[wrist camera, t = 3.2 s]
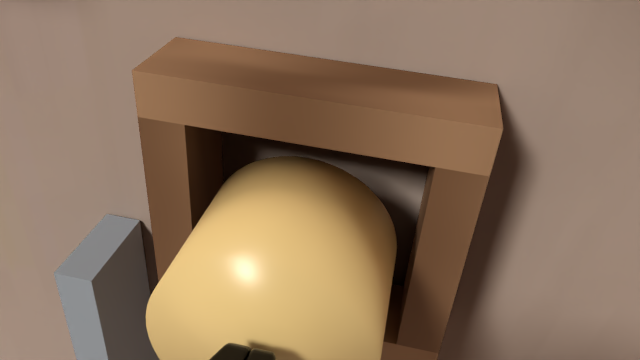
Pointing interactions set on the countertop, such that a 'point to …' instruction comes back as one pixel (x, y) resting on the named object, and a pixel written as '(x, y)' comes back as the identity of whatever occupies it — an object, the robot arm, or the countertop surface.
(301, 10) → the countertop surface
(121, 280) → the pocket
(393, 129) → the housing
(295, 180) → the pale yellow rounded block
